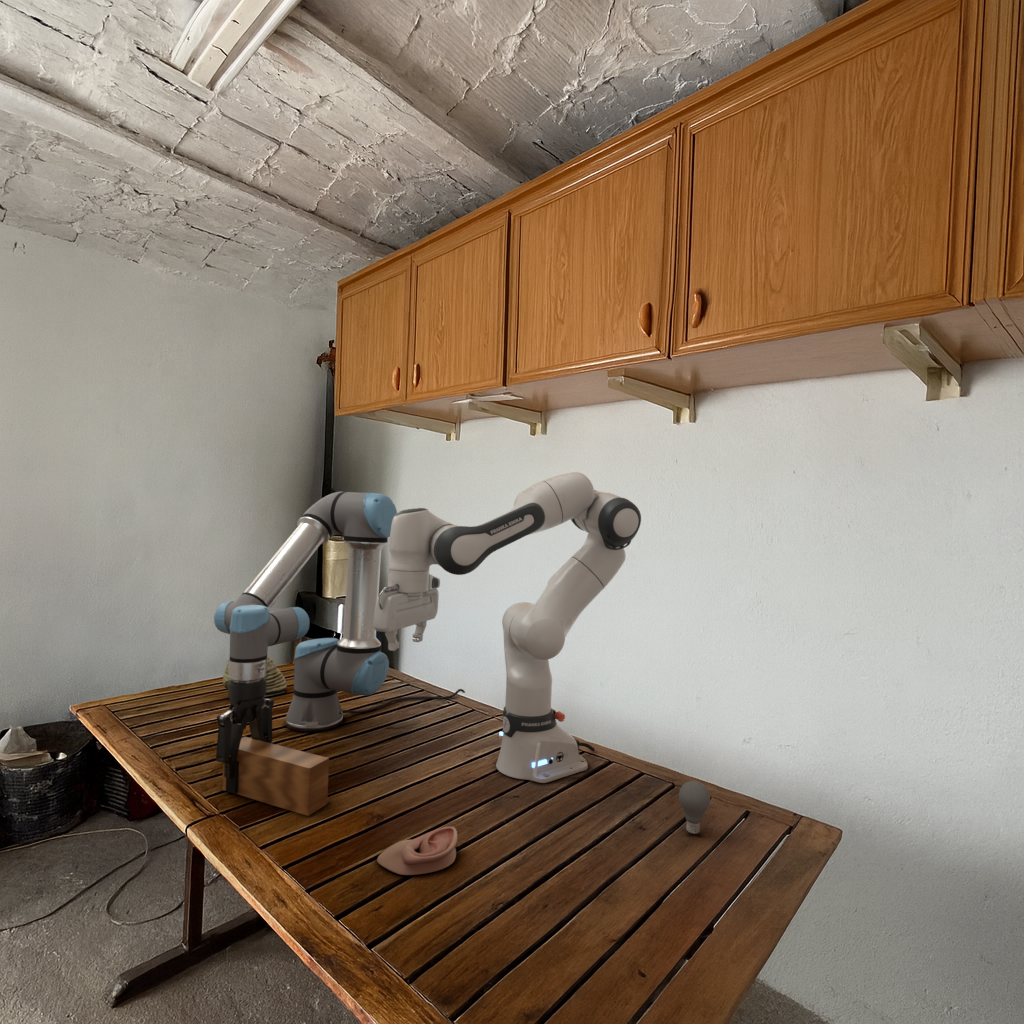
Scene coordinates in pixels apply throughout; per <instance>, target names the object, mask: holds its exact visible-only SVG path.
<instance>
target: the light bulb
mask: <svg viewBox="0 0 1024 1024" xmlns="http://www.w3.org/2000/svg"><path fill="white" fill-rule="evenodd" d="M678 799H679V803H680V805H681V807H682V810H683V811H684V818H685V820H686V824H685V829H686V832H688V833H690V834H691V835H692V834H693V835H694V834H695V835H696V834H699V833H700V831H701V829H700V828H701V823H702V821H703V816H704V814H705V813H706V811H707V810H708V808H709V807H710V804H711V794H710V792H709V790H708V788H707V787H706V786H705V785H704V784H703V783H702V782H700V781H697V780H689V781H687V782H685V783H683V785H682V786H681V787H680V788H679V792H678Z"/></svg>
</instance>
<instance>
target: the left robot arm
mask: <svg viewBox="0 0 1024 1024" xmlns="http://www.w3.org/2000/svg"><path fill="white" fill-rule="evenodd" d="M397 513H398V510H397V506H396V504H395V503H394V502H393V500H392V499H391V497H390V496H388V495H385V494H384V493H377V492H358V491H357V492H355V491H353V492H352V491H336V492H332V493H330V494H328V495H325V496H324V497H321V498H320V499H319V500H317V501H316V502H315V503H313V504H312V505H311V506H310V507H309V508H307V510H306V511H305V512H304V513H303V514H302V515H301V516H300V517H299V518H298V520H297V522H296V527H295V529H294V530H293V531H292V533H291V534H290V535H289V536H288V538H287V539H286V540H285V541H284V542H283V544H282V545H281V546H280V547H279V548H278V550H277V551H275V553H274V555H272V557H271V558H270V559H269V561H268V562H267V563H266V564H265V566H263V568H261V570H260V571H259V573H258V574H257V575H256V576H255V577H254V578H253V580H252V581H250V583H249V584H248V585H247V587H246V588H245V589H243V592H242V593H241V594H240V595H239V596H238V598H237V599H236V600H235V601H233V600H231V601H225V602H223V603H221V604H220V605H218V607H217V608H216V610H215V612H214V616H213V624H214V626H215V627H216V629H217V630H218V631H219V632H221V633H224V634H227V635H229V659H228V660H229V678H230V679H231V680H230V681H229V683H228V690H227V697H228V699H229V701H230V703H229V706H228V709H227V711H226V712H224V713H223V714H222V713H219V714H217V716H216V720H217V724H218V726H217V727H218V728H217V741H216V753H215V761H216V762H219V763H221V764H223V763H224V764H225V766H224V776H225V778H226V791H225V792H228V793H232V794H234V795H237V794H236V793H238V777H239V762H238V761H236V758H237V754H238V750H239V746H240V742H241V738H243V735H244V730H246V728H247V725H248V727H249V732H250V736H251V738H252V739H256V740H260V741H264V742H268V743H272V744H273V708H274V704H275V700H274V699H271V698H266V696H265V694H266V679H265V678H264V677H265V676H266V671H267V655H268V651H269V647H273V646H276V645H281V644H285V643H288V642H293V641H295V640H298V639H302V638H304V637H305V636H306V634H307V633H308V631H309V629H310V617H309V615H308V613H307V611H305V609H304V608H302V607H299V606H293V607H291V606H288V607H285V608H278V607H273V606H274V605H275V603H276V602H277V601H278V599H279V598H280V597H281V595H283V593H284V592H285V590H286V589H287V588H288V587H289V585H290V584H291V583H292V582H293V580H295V578H296V577H297V575H298V574H299V573H300V572H301V570H302V569H303V567H305V565H306V564H307V562H309V560H310V559H311V557H312V556H313V555H314V554H315V552H316V551H317V550H318V549H319V547H320V546H321V545H324V544H326V543H328V542H329V541H330V539H331V538H332V537H334V536H335V535H340V534H341V535H343V543H344V545H346V546H347V547H348V556H347V572H346V573H347V574H346V589H345V604H344V619H343V621H344V622H343V635H342V637H341V638H340V639H339V638H336V637H322V638H313V639H307V640H304V641H302V642H299V643H298V644H297V645H296V647H295V652H294V653H295V654H294V657H293V659H294V660H293V662H294V663H293V665H294V667H293V695H292V696H293V697H292V699H291V702H290V704H289V708H288V711H287V713H286V715H285V726H286V728H287V729H289V730H291V731H294V732H295V731H296V732H301V733H316V732H325V731H329V730H332V729H335V728H337V727H339V726H340V725H342V723H343V722H344V714H362V713H363V714H364V713H367V712H372V711H374V710H377V709H380V708H383V707H385V706H387V705H389V704H392V703H394V702H399V701H406V700H447V699H452V698H454V697H455V696H456V695H458V693H459V692H462V694H463V693H464V694H465V693H466V691H465V690H464V689H462V688H458V689H457V690H456V691H455V692H454V693H452V694H450V695H446V696H432V695H431V696H428V695H427V696H425V695H424V696H406V697H405V696H404V697H398V698H393V699H390V700H387V701H386V702H384V703H382V704H379V705H376V706H373V707H369V708H365V709H359V710H352V709H342V706H341V702H340V699H339V695H338V692H343V693H348V694H352V695H353V696H354V695H355V696H372V695H374V694H376V693H377V692H378V691H379V690H380V689H381V687H382V686H383V685H384V683H385V681H386V679H387V677H388V673H389V668H390V661H389V658H388V656H387V654H385V653H384V652H382V650H381V649H382V642H381V641H380V640H379V639H378V638H377V631H376V630H375V628H374V625H373V624H374V613H375V606H376V601H377V599H378V597H379V594H380V593H379V592H380V591H379V590H380V579H381V578H380V576H381V560H382V550H383V548H384V547H385V546H386V545H388V542H389V541H388V538H390V531H391V524H392V520H393V518H394V516H395V515H396V514H397ZM264 696H265V697H264Z"/></svg>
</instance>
